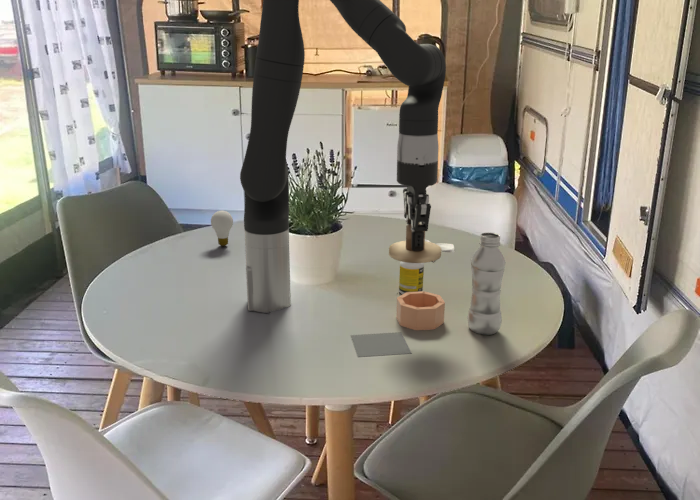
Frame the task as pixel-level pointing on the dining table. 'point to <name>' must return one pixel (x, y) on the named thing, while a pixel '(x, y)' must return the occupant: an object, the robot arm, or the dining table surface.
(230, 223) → the light bulb
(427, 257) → the lid
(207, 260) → the dining table surface
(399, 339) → the mat
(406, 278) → the supplement bottle
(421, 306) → the bowl
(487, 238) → the plastic bottle
